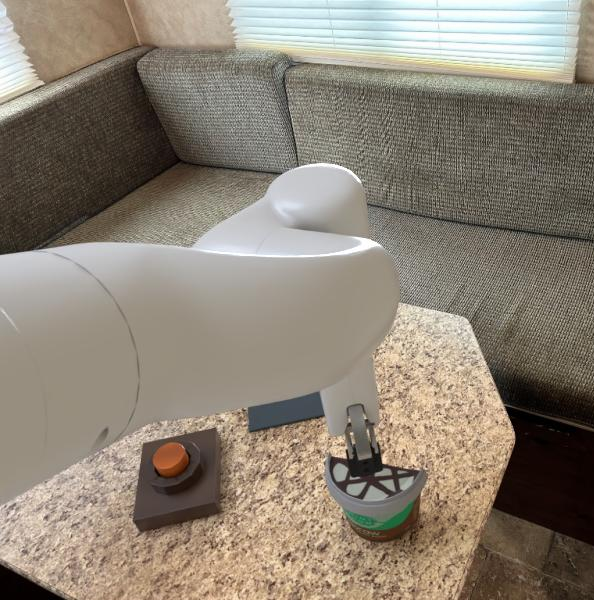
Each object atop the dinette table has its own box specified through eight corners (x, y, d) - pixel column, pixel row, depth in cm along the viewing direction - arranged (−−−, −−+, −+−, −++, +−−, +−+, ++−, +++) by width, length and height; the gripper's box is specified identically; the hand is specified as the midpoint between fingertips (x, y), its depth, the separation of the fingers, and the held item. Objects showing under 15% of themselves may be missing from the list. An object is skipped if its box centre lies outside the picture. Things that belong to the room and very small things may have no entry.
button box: (220, 513, 77) (210, 493, 74) (140, 532, 76) (127, 513, 73) (221, 438, 86) (212, 418, 83) (149, 454, 85) (138, 434, 82)
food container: (321, 541, 73) (306, 495, 67) (336, 496, 78) (324, 449, 71) (420, 561, 70) (415, 515, 64) (431, 513, 75) (427, 466, 69)
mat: (359, 408, 89) (358, 406, 88) (249, 432, 87) (248, 431, 86) (340, 320, 104) (339, 319, 103) (246, 339, 102) (245, 337, 102)
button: (188, 474, 77) (183, 464, 76) (156, 481, 77) (151, 472, 75) (190, 449, 80) (185, 439, 79) (159, 455, 80) (154, 446, 78)
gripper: (284, 259, 57) (314, 383, 69) (300, 394, 44) (334, 520, 56) (361, 245, 58) (379, 370, 70) (400, 373, 45) (414, 501, 56)
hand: (359, 436), depth 63 cm, fingers open, 8 cm apart
